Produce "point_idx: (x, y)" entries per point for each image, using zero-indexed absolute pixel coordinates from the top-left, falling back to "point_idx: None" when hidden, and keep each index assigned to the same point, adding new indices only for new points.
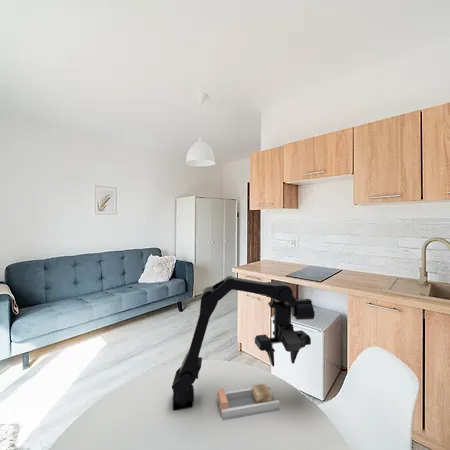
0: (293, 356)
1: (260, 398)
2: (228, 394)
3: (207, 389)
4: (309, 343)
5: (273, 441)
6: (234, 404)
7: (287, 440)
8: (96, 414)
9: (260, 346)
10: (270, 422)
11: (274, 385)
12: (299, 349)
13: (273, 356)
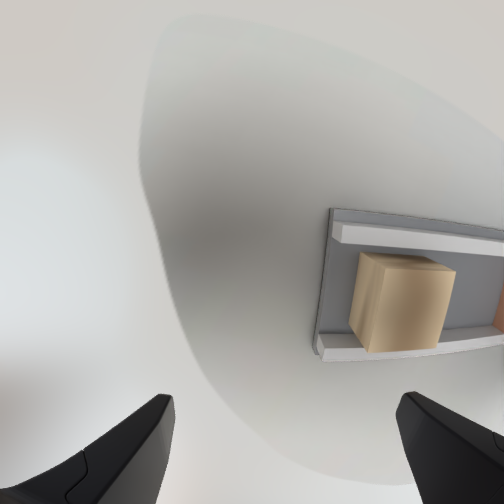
0: (142, 454)
1: (432, 265)
2: (490, 334)
3: (481, 387)
4: None
5: (417, 98)
6: (478, 297)
7: (368, 78)
8: None
9: None
10: (393, 178)
11: (253, 381)
12: (9, 490)
13: (489, 451)
